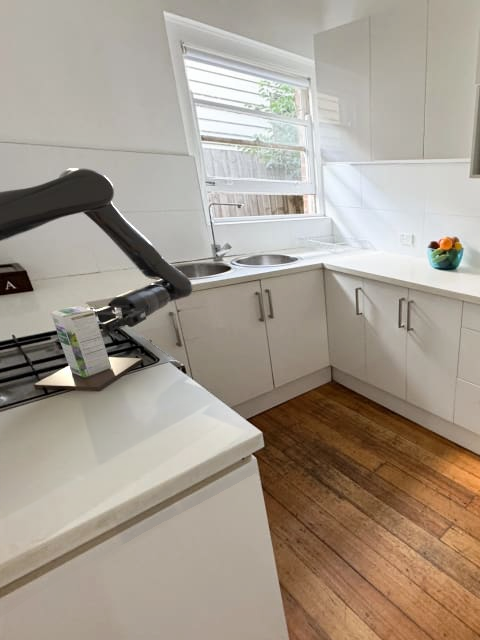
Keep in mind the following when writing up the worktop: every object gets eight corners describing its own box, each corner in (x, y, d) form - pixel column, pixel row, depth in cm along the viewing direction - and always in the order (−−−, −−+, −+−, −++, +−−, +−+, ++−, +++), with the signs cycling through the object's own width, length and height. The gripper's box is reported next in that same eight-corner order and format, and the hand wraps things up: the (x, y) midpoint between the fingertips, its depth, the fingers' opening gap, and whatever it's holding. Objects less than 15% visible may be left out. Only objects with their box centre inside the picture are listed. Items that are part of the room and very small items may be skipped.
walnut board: (34, 388, 81) (33, 384, 81) (87, 359, 94) (86, 356, 94) (99, 391, 81) (98, 387, 81) (143, 361, 94) (142, 358, 94)
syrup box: (70, 372, 86) (47, 312, 80) (99, 362, 91) (79, 304, 85) (84, 378, 84) (62, 316, 78) (113, 367, 89) (94, 308, 83)
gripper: (104, 290, 98) (47, 311, 84) (158, 292, 98) (111, 313, 84) (112, 317, 101) (59, 342, 87) (165, 319, 101) (121, 344, 87)
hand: (85, 328), depth 85 cm, fingers open, 8 cm apart
